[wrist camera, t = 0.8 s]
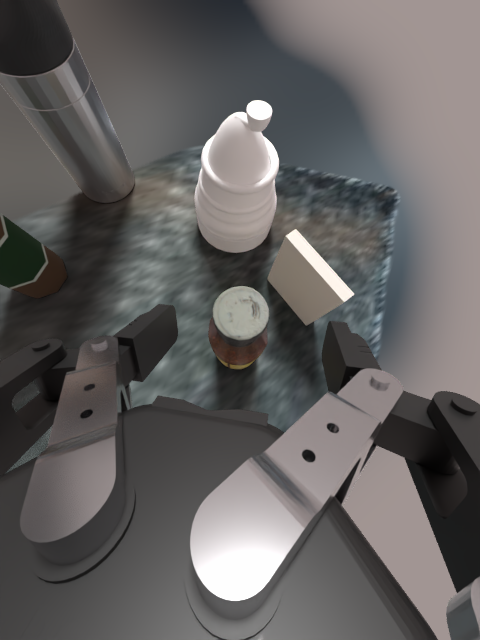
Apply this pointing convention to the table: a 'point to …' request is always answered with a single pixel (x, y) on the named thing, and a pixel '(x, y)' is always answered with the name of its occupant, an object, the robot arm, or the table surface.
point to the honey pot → (238, 182)
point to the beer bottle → (28, 263)
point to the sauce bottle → (239, 326)
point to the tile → (306, 280)
